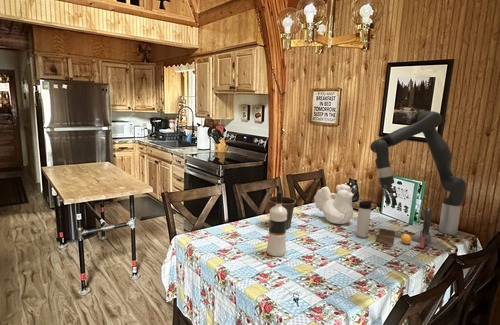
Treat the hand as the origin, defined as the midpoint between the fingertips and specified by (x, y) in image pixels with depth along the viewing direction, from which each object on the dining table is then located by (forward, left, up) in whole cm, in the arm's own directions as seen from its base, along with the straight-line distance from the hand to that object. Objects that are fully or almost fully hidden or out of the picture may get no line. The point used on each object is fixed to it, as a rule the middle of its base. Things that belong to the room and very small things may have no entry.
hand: (391, 204), depth 175 cm
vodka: (+51, -47, -19) cm, 72 cm away
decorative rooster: (-11, -33, -19) cm, 39 cm away
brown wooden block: (+6, -1, -19) cm, 20 cm away
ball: (+5, +9, -16) cm, 19 cm away
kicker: (+1, +18, -18) cm, 26 cm away
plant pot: (+16, -58, -19) cm, 63 cm away
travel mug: (+7, -13, -19) cm, 24 cm away
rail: (-4, +10, -19) cm, 22 cm away
